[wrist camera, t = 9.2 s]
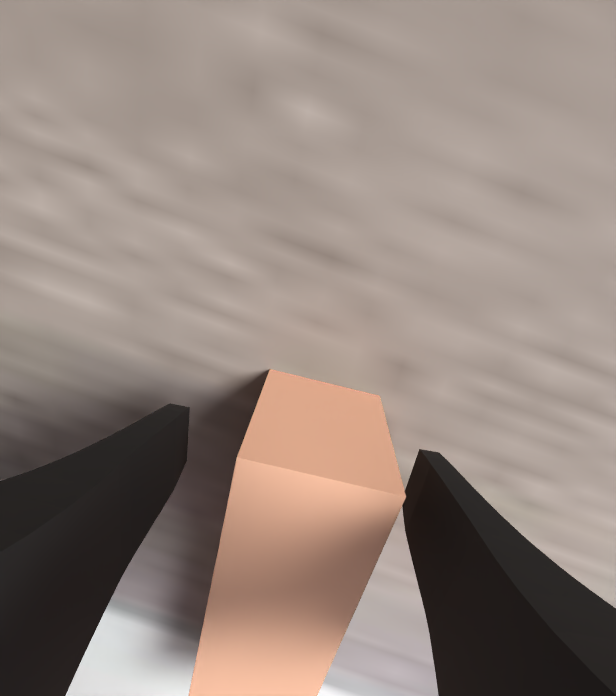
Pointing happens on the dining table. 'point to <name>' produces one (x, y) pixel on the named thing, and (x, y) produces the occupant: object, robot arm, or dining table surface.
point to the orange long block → (297, 538)
